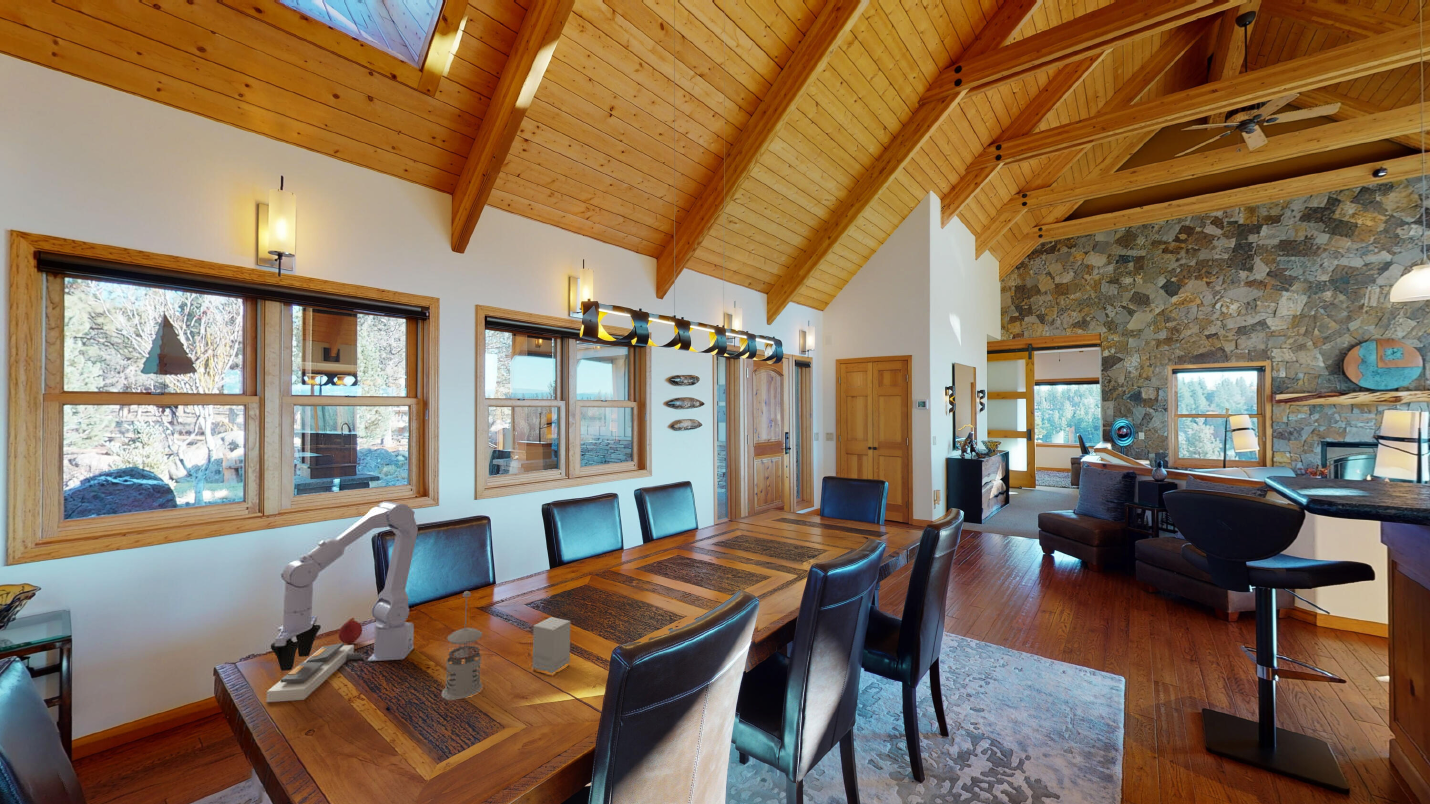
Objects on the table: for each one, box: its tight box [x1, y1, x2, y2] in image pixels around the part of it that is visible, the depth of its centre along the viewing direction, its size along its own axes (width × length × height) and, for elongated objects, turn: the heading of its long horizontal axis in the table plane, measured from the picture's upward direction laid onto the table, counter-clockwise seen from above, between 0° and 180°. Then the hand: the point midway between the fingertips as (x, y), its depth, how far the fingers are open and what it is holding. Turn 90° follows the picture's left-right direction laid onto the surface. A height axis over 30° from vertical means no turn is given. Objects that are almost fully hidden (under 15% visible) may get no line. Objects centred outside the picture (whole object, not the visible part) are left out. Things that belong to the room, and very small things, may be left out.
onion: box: [338, 617, 363, 645], centre depth 158 cm, size 6×6×8 cm
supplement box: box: [532, 616, 571, 673], centre depth 146 cm, size 7×7×13 cm
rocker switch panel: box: [265, 644, 363, 703], centre depth 139 cm, size 12×25×3 cm, turn 11°
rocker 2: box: [305, 642, 345, 662], centre depth 144 cm, size 5×9×1 cm, turn 12°
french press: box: [440, 590, 483, 701], centre depth 135 cm, size 10×12×25 cm
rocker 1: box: [280, 661, 323, 683], centre depth 133 cm, size 5×9×1 cm, turn 11°
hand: (295, 662), depth 133 cm, fingers open, 7 cm apart
